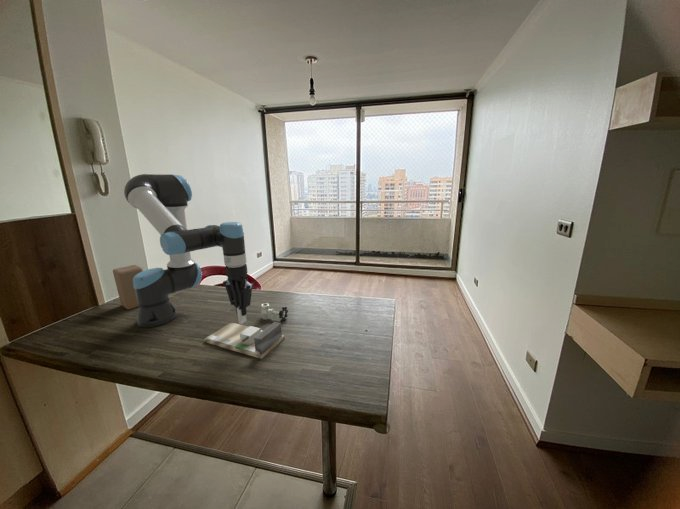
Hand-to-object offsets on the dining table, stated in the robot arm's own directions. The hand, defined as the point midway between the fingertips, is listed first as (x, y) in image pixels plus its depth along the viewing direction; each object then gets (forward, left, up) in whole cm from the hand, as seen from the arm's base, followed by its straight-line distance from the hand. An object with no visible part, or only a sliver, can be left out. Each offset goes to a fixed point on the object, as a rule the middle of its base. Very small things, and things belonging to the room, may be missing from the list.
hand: (242, 322), depth 102 cm
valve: (0, +18, -8) cm, 20 cm away
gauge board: (0, 0, -8) cm, 8 cm away
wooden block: (-77, +4, -8) cm, 77 cm away
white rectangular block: (+3, -1, -7) cm, 8 cm away
